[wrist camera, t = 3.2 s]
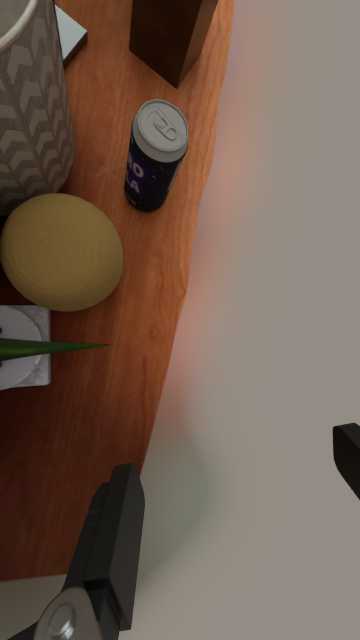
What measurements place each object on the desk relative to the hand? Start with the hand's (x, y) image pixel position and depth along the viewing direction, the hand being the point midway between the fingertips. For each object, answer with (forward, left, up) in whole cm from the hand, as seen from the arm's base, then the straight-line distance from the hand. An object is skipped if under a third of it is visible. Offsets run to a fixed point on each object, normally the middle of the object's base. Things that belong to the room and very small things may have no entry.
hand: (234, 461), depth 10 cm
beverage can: (-12, +21, -25) cm, 35 cm away
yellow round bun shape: (-14, +6, -14) cm, 21 cm away
